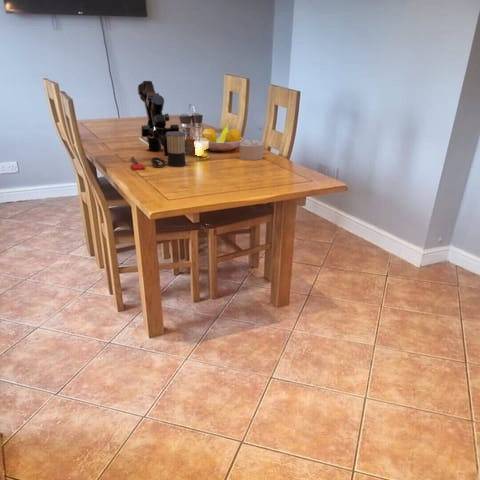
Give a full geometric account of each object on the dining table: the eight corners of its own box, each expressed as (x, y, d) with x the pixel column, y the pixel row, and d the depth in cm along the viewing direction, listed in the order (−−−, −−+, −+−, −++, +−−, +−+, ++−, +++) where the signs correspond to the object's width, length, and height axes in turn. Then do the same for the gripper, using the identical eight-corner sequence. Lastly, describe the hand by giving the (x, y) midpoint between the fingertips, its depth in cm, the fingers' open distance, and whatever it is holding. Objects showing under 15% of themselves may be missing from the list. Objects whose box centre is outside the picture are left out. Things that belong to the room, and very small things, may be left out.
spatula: (127, 159, 232) (127, 157, 231) (138, 159, 234) (138, 156, 233) (133, 170, 216) (133, 167, 215) (144, 169, 217) (144, 166, 216)
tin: (183, 153, 247) (182, 137, 243) (187, 152, 249) (187, 136, 245) (202, 158, 239) (201, 141, 234) (206, 157, 241) (206, 140, 236)
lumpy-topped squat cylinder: (265, 158, 243) (266, 141, 238) (246, 161, 236) (246, 143, 231) (253, 154, 250) (254, 137, 245) (234, 157, 243) (235, 140, 238)
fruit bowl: (227, 156, 244) (227, 134, 238) (187, 149, 256) (186, 127, 250) (253, 147, 264) (254, 126, 258) (215, 141, 276) (215, 121, 270)
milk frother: (189, 163, 228) (188, 132, 220) (171, 170, 216) (169, 138, 208) (166, 160, 234) (164, 129, 226) (147, 166, 222) (145, 134, 214)
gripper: (139, 107, 220) (145, 136, 217) (177, 107, 226) (183, 134, 223) (139, 122, 231) (144, 149, 228) (174, 121, 236) (180, 148, 233)
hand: (163, 145), depth 228 cm, fingers closed
